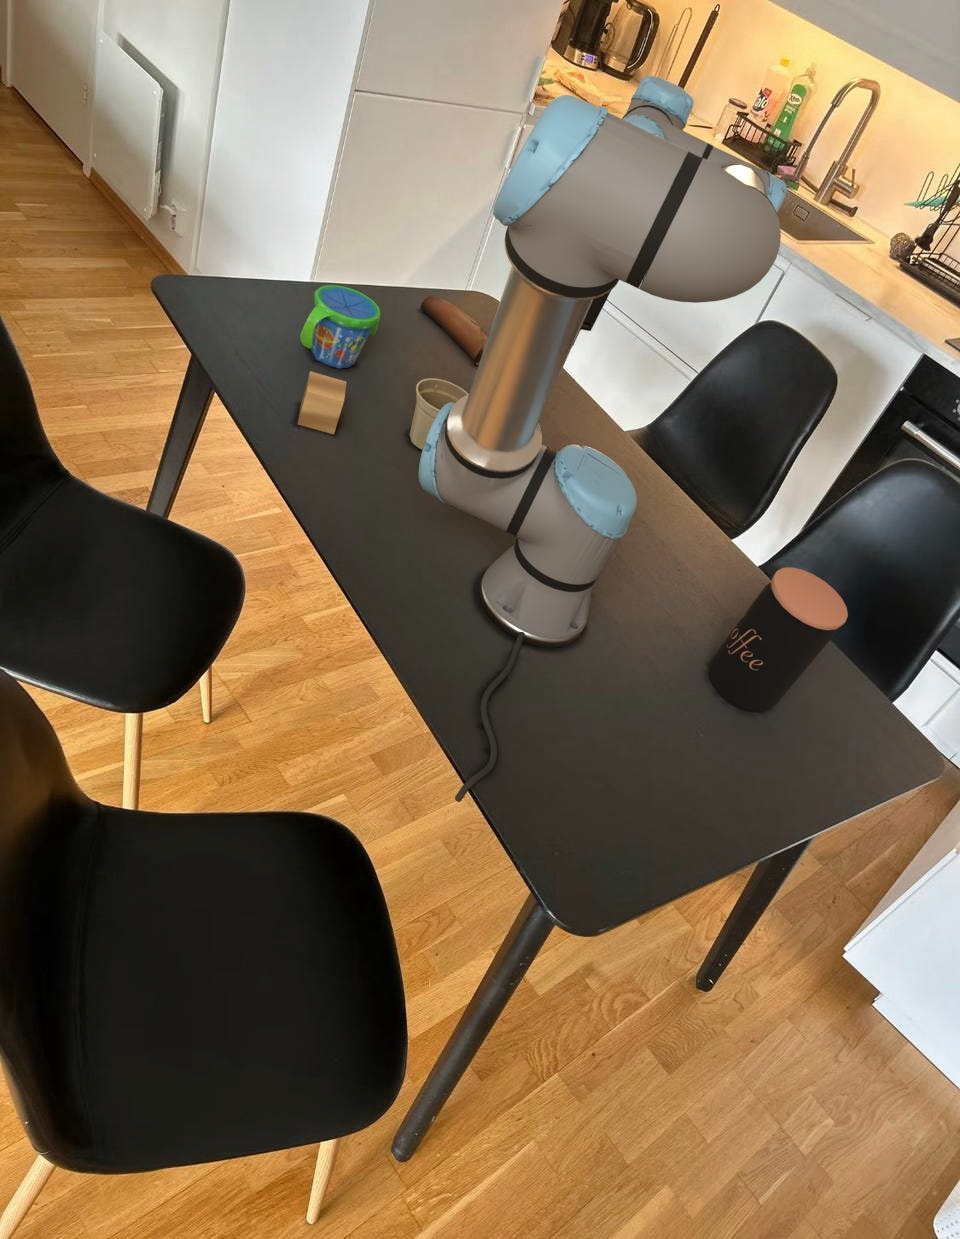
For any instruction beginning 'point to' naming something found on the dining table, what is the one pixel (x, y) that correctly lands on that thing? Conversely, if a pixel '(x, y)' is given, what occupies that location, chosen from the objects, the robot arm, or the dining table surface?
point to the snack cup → (339, 325)
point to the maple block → (322, 403)
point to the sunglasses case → (457, 326)
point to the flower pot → (431, 406)
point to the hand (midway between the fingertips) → (550, 353)
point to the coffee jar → (776, 640)
